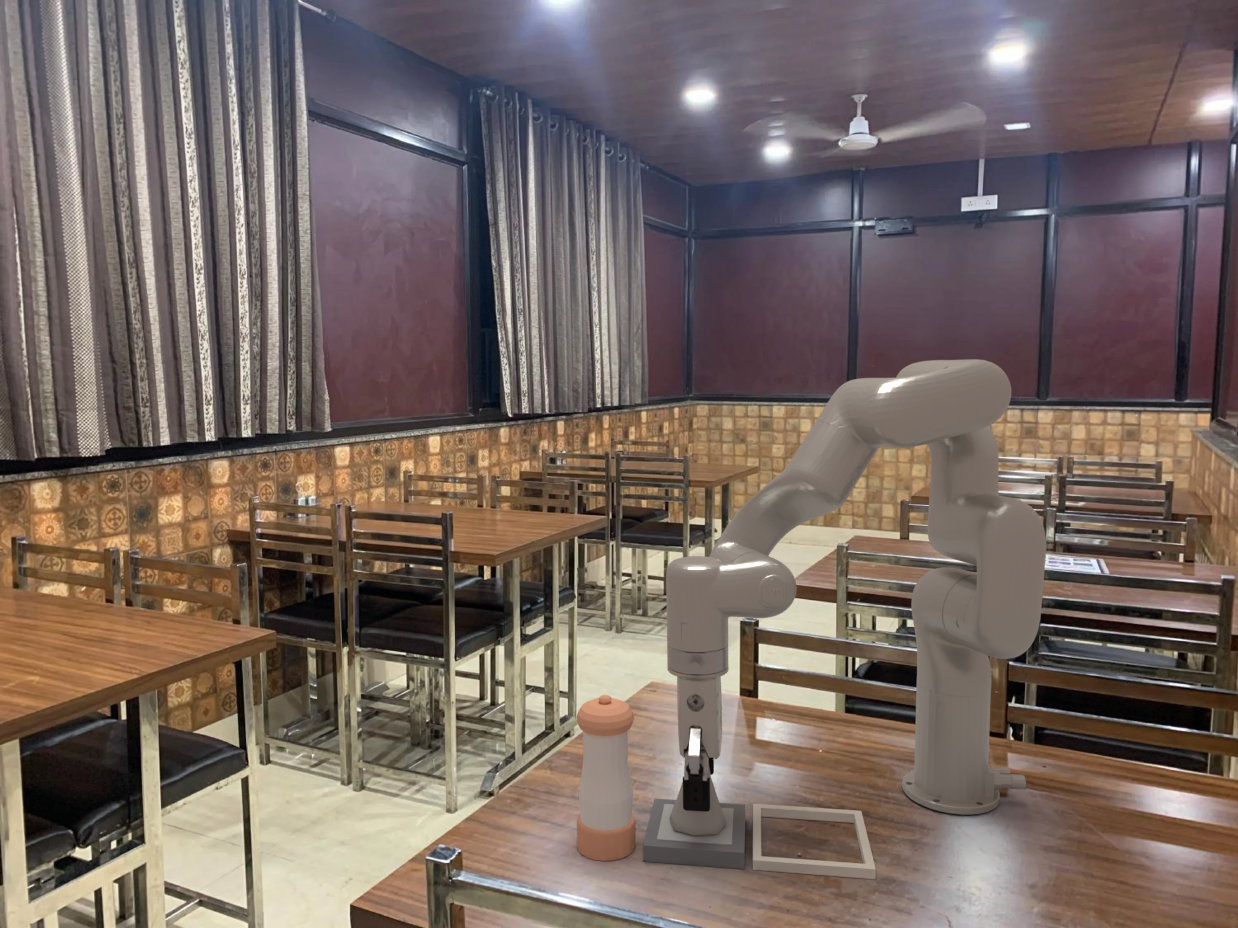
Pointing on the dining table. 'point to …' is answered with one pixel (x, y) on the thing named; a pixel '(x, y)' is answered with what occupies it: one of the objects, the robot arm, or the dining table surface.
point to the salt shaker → (605, 781)
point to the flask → (698, 814)
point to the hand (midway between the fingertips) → (699, 790)
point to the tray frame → (813, 866)
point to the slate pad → (695, 839)
